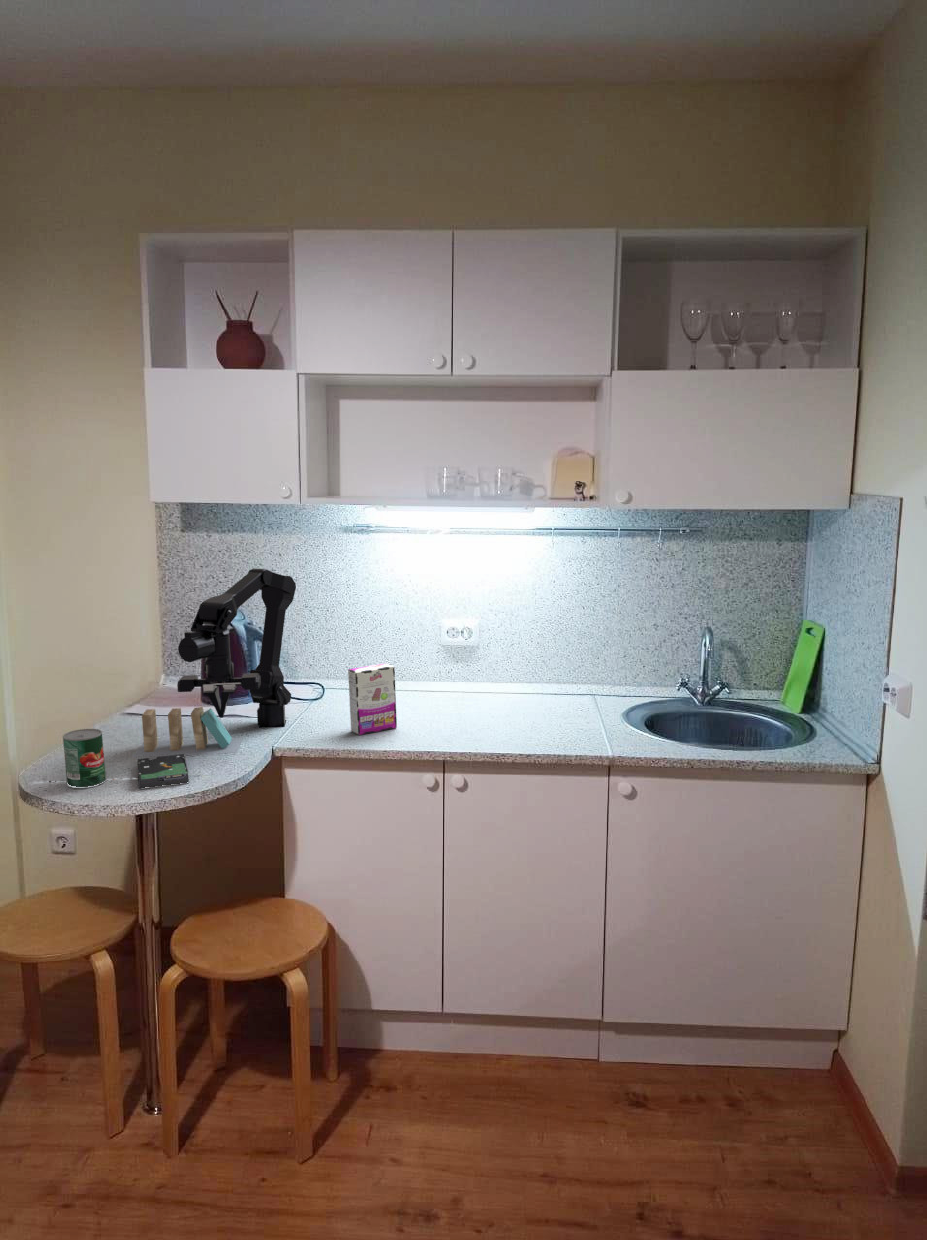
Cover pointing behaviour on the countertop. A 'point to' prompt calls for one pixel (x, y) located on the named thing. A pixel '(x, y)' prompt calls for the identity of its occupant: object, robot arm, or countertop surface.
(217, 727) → the teal tile
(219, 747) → the slate mat
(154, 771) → the disk drive
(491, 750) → the countertop surface
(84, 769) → the canned tomato
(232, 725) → the countertop surface
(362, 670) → the candy bar box
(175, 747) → the maple tile
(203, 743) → the maple tile
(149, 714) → the maple tile
